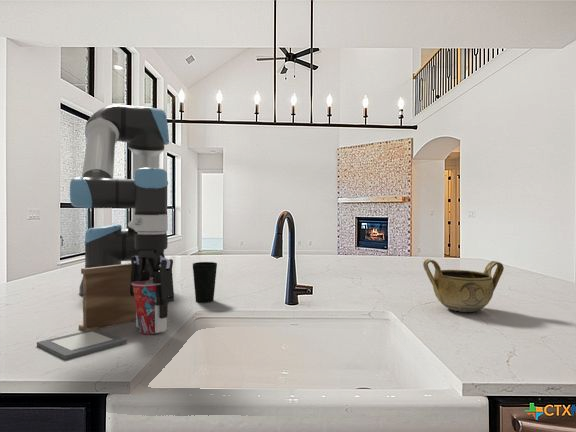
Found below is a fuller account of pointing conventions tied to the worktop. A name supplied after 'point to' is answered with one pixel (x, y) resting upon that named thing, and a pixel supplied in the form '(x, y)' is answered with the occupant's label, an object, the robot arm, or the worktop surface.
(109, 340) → the mat
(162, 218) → the robot arm
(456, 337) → the worktop surface
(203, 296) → the cup
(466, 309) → the ceramic bowl
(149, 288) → the cup
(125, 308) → the screen
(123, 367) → the worktop surface
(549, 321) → the worktop surface
